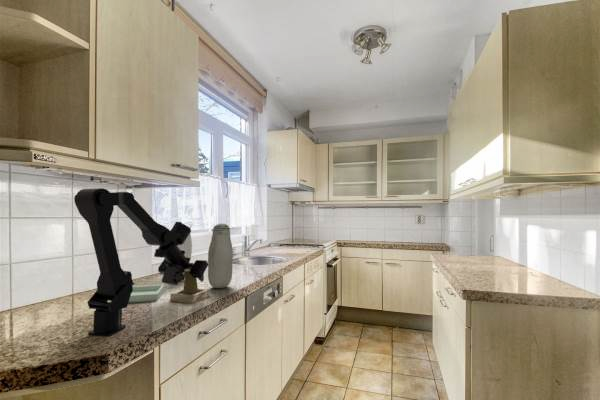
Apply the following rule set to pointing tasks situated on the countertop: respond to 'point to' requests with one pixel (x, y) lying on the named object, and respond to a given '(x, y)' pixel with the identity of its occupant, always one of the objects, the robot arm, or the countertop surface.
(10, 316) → the countertop surface
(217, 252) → the grey bottle
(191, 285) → the cork
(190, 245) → the skyscraper
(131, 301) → the sage green tray
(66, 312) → the countertop surface
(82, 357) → the countertop surface
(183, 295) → the wooden collar
